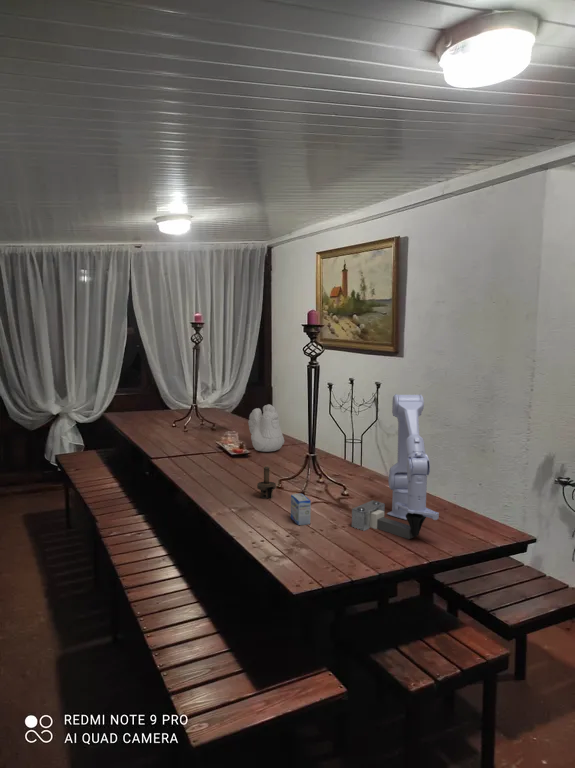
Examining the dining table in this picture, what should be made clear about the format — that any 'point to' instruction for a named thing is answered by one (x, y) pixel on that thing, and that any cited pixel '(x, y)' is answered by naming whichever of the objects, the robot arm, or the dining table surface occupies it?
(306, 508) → the medicine box
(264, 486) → the industrial component
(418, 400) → the robot arm
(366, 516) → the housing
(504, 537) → the dining table surface
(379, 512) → the plug
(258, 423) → the white lumpy sculpture
